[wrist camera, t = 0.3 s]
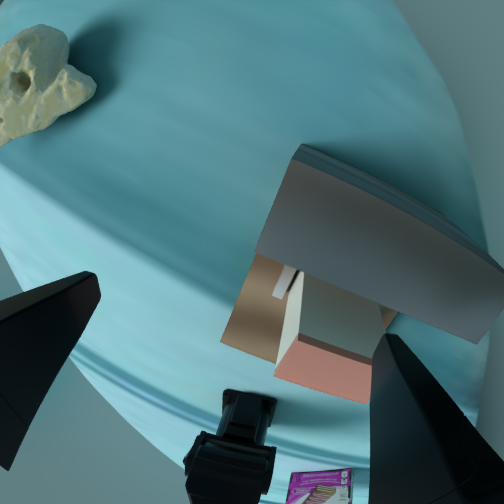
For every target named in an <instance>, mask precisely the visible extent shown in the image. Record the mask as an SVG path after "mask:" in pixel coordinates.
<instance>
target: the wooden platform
mask: <svg viewBox="0 0 504 504" xmlns="http://www.w3.org/2000/svg"><path fill="white" fill-rule="evenodd" d="M254 252H256V255H255V258H254V260H253V263H252V265H251V268H250V270H249V272H248V275H247V277H246V280H245V282H244V285H243V287H242V290H241V292H240V294H239V297H238V299H237V302H236V304H235V307H234V309H233V311H232V314H231V316H230V319H229V321H228V324H227V326H226V328H225V331H224V333H223V336H222V338H221V340H220V342H221V343H224V344H226V345H228V346H231V347H233V348H236V349H238V350H241V351H243V352H246V353H248V354H251V355H254V356H256V357H259V358H261V359H264V360H267V361H269V362H272V363H275V364H276V362H277V357H278V352H279V346H280V341H281V335H282V330H283V324H284V319H285V313H286V307H287V301H288V295H289V289H290V287H291V285H292V283H293V282H294V280H295V278H296V276H297V274H298V272H299V271H302V272H304V273H306V274H309V275H311V276H314V277H316V278H318V279H321V280H323V281H326V282H328V283H330V284H333V285H335V286H338V287H340V288H342V289H345V290H347V291H350V292H352V293H354V294H357V295H359V296H362V297H364V298H366V299H369V300H371V301H374V302H376V303H378V305H379V309H380V312H381V316H382V319H383V323H384V326H385V329H386V328H387V327H388V325H389V324H390V323H391V321H392V320H393V319H394V317H395V316H396V315H397V313H398V312H400V313H402V314H405V315H407V316H410V317H412V318H414V319H417V320H419V321H422V322H424V323H426V324H429V325H431V326H433V327H436V328H438V329H441V330H443V331H445V332H448V333H450V334H453V335H455V336H457V337H460V338H462V339H465V340H467V341H469V342H472V343H474V344H477V343H478V342H479V341H480V340H481V339H482V337H483V336H484V335H485V333H486V332H487V331H488V330H489V328H490V327H491V326H492V324H493V323H494V322H495V320H496V319H497V317H498V316H499V315H500V313H501V312H502V310H503V309H504V269H503V268H502V267H501V266H500V265H499V264H498V263H497V262H496V261H495V260H494V259H493V258H492V257H491V256H490V255H489V254H488V253H487V252H485V251H484V250H483V249H482V248H481V247H480V246H479V245H478V244H477V243H476V242H474V241H473V240H472V239H471V238H470V237H469V236H468V235H466V234H465V233H464V232H463V231H462V230H461V229H459V228H458V227H457V226H456V225H455V224H453V223H452V222H451V221H450V220H448V219H447V218H446V217H444V216H443V215H441V214H440V213H438V212H436V211H435V210H433V209H431V208H430V207H428V206H426V205H425V204H423V203H421V202H419V201H418V200H416V199H414V198H412V197H411V196H409V195H407V194H405V193H404V192H402V191H400V190H398V189H396V188H394V187H393V186H391V185H389V184H387V183H385V182H383V181H381V180H379V179H377V178H375V177H373V176H371V175H369V174H367V173H365V172H363V171H361V170H359V169H357V168H355V167H353V166H351V165H349V164H347V163H344V162H342V161H340V160H338V159H336V158H333V157H331V156H329V155H327V154H324V153H322V152H320V151H318V150H315V149H313V148H310V147H308V146H306V145H303V144H301V145H300V146H299V148H298V149H297V151H296V152H295V154H294V155H293V157H292V158H291V161H290V163H289V166H288V168H287V171H286V173H285V176H284V178H283V181H282V183H281V186H280V188H279V191H278V193H277V196H276V198H275V201H274V203H273V206H272V208H271V211H270V213H269V215H268V218H267V220H266V223H265V225H264V228H263V230H262V233H261V235H260V238H259V240H258V243H257V245H256V248H255V250H254Z"/></svg>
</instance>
